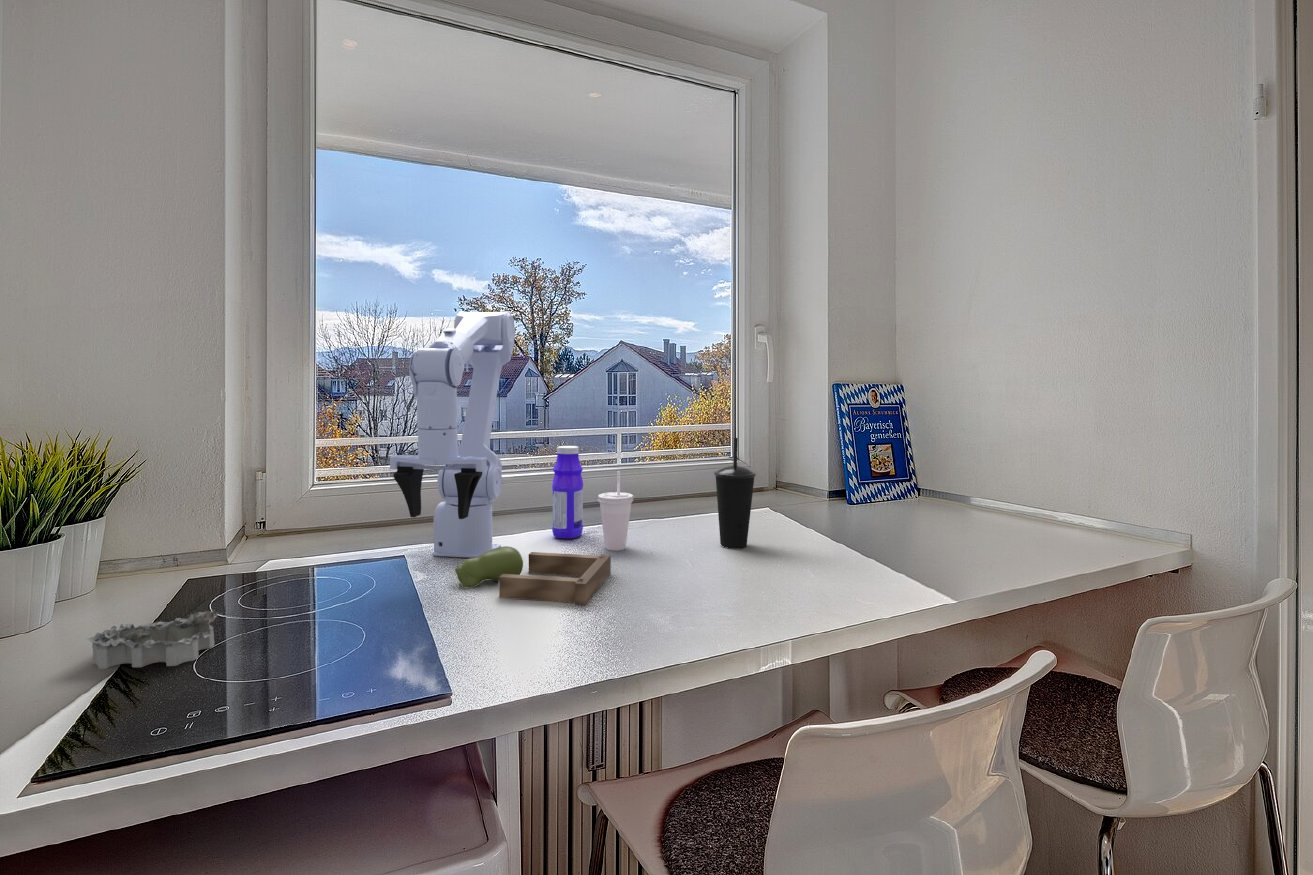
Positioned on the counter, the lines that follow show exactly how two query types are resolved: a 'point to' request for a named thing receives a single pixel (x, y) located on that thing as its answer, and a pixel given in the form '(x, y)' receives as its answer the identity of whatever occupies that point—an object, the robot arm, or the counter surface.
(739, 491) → the drinking cup
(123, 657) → the egg carton
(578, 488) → the bottle
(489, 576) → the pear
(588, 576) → the walnut frame
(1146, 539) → the counter surface
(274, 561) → the counter surface
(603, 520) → the smoothie
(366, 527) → the counter surface
